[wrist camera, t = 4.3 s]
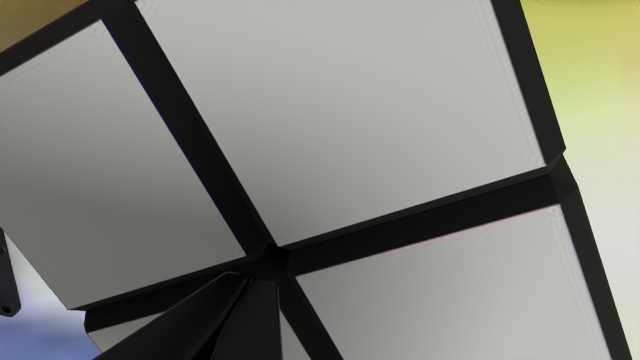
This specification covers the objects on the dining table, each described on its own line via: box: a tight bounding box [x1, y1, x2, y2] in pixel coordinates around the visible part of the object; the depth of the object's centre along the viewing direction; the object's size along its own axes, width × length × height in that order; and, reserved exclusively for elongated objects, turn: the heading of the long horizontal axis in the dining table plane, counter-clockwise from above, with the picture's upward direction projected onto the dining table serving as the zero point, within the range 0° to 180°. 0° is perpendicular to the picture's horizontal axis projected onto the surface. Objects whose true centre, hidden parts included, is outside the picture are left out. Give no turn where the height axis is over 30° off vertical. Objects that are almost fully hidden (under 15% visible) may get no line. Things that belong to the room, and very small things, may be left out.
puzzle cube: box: [0, 0, 632, 360], centre depth 13 cm, size 10×10×10 cm
